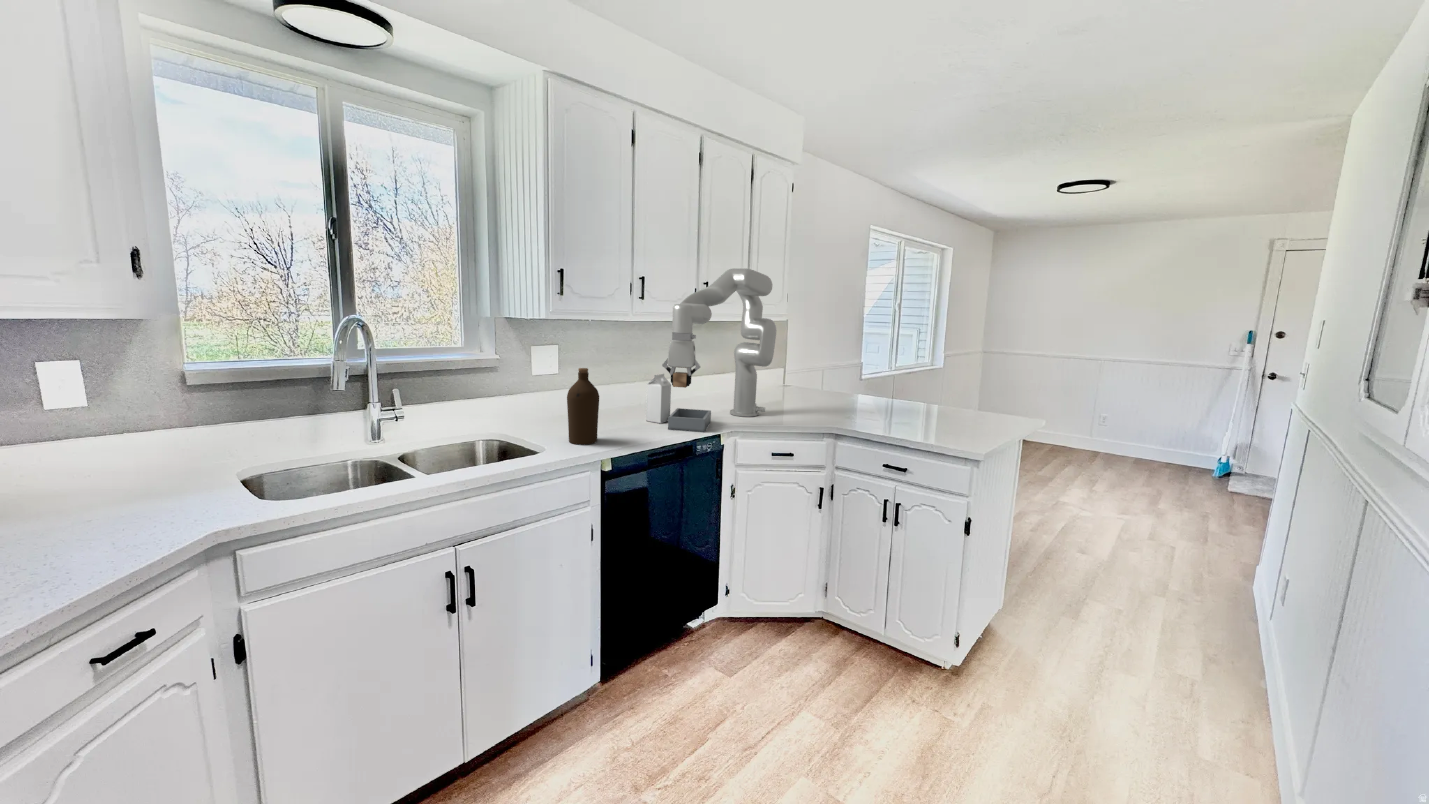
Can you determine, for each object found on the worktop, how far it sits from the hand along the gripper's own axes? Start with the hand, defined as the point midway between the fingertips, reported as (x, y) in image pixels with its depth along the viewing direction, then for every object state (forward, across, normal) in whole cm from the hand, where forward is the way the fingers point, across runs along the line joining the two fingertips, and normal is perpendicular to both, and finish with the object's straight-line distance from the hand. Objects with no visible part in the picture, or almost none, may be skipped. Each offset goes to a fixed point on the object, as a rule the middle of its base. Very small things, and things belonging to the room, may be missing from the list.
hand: (680, 384), depth 220 cm
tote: (+17, -3, -5) cm, 18 cm away
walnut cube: (+1, 0, 0) cm, 1 cm away
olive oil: (+17, +27, +31) cm, 44 cm away
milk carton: (+17, +11, -9) cm, 22 cm away
